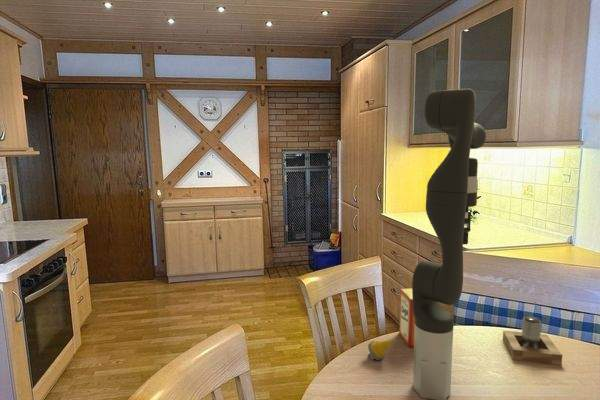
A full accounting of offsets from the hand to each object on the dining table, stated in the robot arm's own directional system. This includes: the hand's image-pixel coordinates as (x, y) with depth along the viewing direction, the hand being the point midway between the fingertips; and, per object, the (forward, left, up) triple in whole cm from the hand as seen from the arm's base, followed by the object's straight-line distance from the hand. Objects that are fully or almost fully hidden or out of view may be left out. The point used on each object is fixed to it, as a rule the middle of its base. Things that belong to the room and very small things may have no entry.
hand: (461, 240), depth 124 cm
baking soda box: (-6, +14, -32) cm, 36 cm away
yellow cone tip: (-20, +24, -32) cm, 45 cm away
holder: (-5, -20, -32) cm, 38 cm away
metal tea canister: (-5, -20, -32) cm, 38 cm away
